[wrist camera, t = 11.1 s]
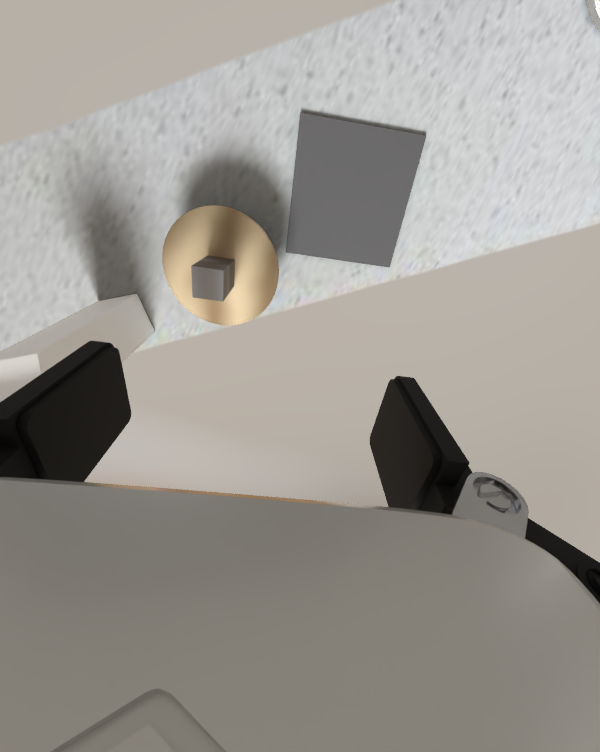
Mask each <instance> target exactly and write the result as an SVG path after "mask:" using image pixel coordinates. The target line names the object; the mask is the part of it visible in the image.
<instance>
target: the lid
mask: <svg viewBox="0 0 600 752" xmlns="http://www.w3.org/2000/svg"><path fill="white" fill-rule="evenodd" d="M162 256H163V268H164V273H165V277H166V280H167V282H168V284H169V287H170V288H171V290H172V292H173V294H174V295H175V296H176V298H177V299H178V300H179V302H180V303H181V304H182V305H183V306H184V307H185V308H186V309H187V310H189V311H190V312H191V313H193V314H194V315H196V316H197V317H199V318H201V319H203V320H205V321H208V322H211V323H215V324H220V325H236V324H241V323H244V322H247V321H250V320H252V319H254V318H255V317H257V316H258V315H259V314H261V313H262V312H263V311H264V310H265V309H266V307H267V306H268V305H269V303H270V302H271V300H272V298H273V296H274V294H275V291H276V288H277V283H278V276H279V268H278V260H277V255H276V252H275V249H274V247H273V245H272V243H271V241H270V239H269V237H268V236H267V234H266V233H265V231H264V230H263V229H262V228H261V227H260V226H259V225H258V224H257V223H256V222H255V221H254V220H253V219H251V218H250V217H249V216H247V215H246V214H244V213H242V212H240V211H238V210H236V209H233V208H230V207H225V206H217V205H212V206H203V207H198V208H195V209H193V210H190V211H188V212H187V213H185V214H183V215H182V216H181V217H180V218H179V219H178V220H177V221H176V222H175V223H174V224H173V225H172V227H171V228H170V230H169V232H168V234H167V236H166V239H165V242H164V246H163V255H162Z"/></svg>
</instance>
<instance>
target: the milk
mask: <svg viewBox="0 0 600 752" xmlns="http://www.w3.org/2000/svg"><path fill="white" fill-rule="evenodd" d="M154 332H155V331H154V329H153V327H152V324H151V322H150V320H149V318H148V316H147V314H146V312H145V309H144V307H143V305H142V303H141V301H140V299H139V297H138V295H137V294H132V295H127V296H122V297H117V298H112V299H107V300H102V301H98V302H96V303H94V304H92V305H90V306H88V307H86V308H84V309H82V310H80V311H78V312H76V313H75V314H73V315H71V316H69V317H67V318H65V319H63V320H61V321H59V322H57V323H55V324H53V325H51V326H49V327H47V328H46V329H44V330H42V331H40V332H38V333H36V334H34V335H32V336H30V337H28V338H26V339H24V340H22V341H20V342H18V343H17V344H15V345H13V346H11V347H9V348H7V349H5V350H3V351H1V352H0V402H1V401H3V400H4V399H6V398H7V397H9V396H10V395H12V394H13V393H14V392H16V391H17V390H19V389H20V388H22V387H23V386H25V385H26V384H28V383H29V382H30V381H32V380H33V379H35V378H36V377H38V376H39V375H41V374H42V373H44V372H45V371H46V370H48V369H49V368H51V367H52V366H54V365H55V364H57V363H58V362H60V361H61V360H62V359H64V358H65V357H67V356H68V355H70V354H71V353H73V352H74V351H76V350H77V349H78V348H80V347H81V346H83V345H84V344H86V343H87V342H89V341H100V342H109V343H111V344H113V346H114V347H115V348H117V349H118V350H119V353H120V358H121V363H123V362H124V361H125V360H126V359H127V358H128V357H129V356H130V355H131V354H132V353H133V352H134V351H135V350H136V349H137V348H139V347H140V346H141V345H142V344H143V343H144V342H145V341H146V340H147V339H148V338H149V337H150V336H151V335H152V334H153V333H154Z"/></svg>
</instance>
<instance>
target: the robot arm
mask: <svg viewBox="0 0 600 752" xmlns="http://www.w3.org/2000/svg"><path fill="white" fill-rule="evenodd" d="M586 3H587V7H588V11H589V14H590V17H591V19H592V21H593V23H594V24H595V26H596V28H597V29H598V30H599V31H600V0H586ZM130 417H131V409H130V404H129V399H128V394H127V389H126V384H125V379H124V373H123V368H122V363H121V358H120V353H119V350H118V349H117V348H115V347H114V346H113V344H111V343H109V342H100V341H89V342H87V343H86V344H84V345H83V346H81V347H80V348H78V349H77V350H76V351H74V352H73V353H71V354H70V355H68V356H67V357H65V358H64V359H62V360H61V361H60V362H58V363H57V364H55V365H54V366H52V367H51V368H49V369H48V370H46V371H45V372H44V373H42V374H41V375H39V376H38V377H36V378H35V379H33V380H32V381H30V382H29V383H28V384H26V385H25V386H23V387H22V388H20V389H19V390H17V391H16V392H14V393H13V394H12V395H10V396H9V397H7V398H6V399H4V400H3V401H1V402H0V752H600V563H599V562H598V561H596V560H594V559H593V558H591V557H590V556H588V555H586V554H585V553H583V552H581V551H580V550H578V549H577V548H575V547H574V546H572V545H570V544H569V543H567V542H566V541H564V540H562V539H561V538H559V537H557V536H556V535H554V534H553V533H551V532H550V531H548V530H546V529H545V528H543V527H542V526H540V525H538V524H537V523H535V522H534V521H532V520H530V519H529V518H528V506H527V504H526V502H525V500H524V498H523V497H522V496H521V494H520V493H519V492H518V491H517V490H516V489H515V488H514V487H512V486H511V485H510V484H509V483H507V482H505V481H504V480H502V479H501V478H498V477H496V476H494V475H491V474H488V473H483V472H475V473H472V471H471V470H470V468H469V466H468V465H469V461H468V460H467V458H466V457H465V455H464V454H463V453H462V451H461V449H460V448H459V446H458V445H457V443H456V441H455V440H454V438H453V437H452V435H451V434H450V432H449V431H448V429H447V428H446V426H445V425H444V423H443V422H442V420H441V419H440V417H439V416H438V414H437V413H436V411H435V409H434V408H433V406H432V405H431V403H430V402H429V400H428V399H427V397H426V396H425V394H424V393H423V391H422V390H421V388H420V386H419V385H418V383H417V382H416V380H415V379H414V378H410V377H402V376H397V377H396V378H395V379H394V380H393V379H391V380H390V381H389V383H388V386H387V389H386V392H385V395H384V398H383V401H382V404H381V406H380V409H379V413H378V415H377V418H376V421H375V424H374V427H373V430H372V433H371V436H370V446H371V449H372V453H373V456H374V460H375V463H376V466H377V469H378V473H379V476H380V479H381V483H382V486H383V490H384V493H385V496H386V500H387V503H388V506H389V507H382V506H372V505H371V506H370V505H361V504H350V503H338V502H327V501H314V500H303V499H291V498H279V497H268V496H254V495H243V494H230V493H218V492H206V491H193V490H180V489H167V488H154V487H141V486H128V485H114V484H100V483H87V482H84V480H85V479H86V478H87V477H88V475H89V474H90V473H91V471H92V470H93V469H94V467H95V466H96V465H97V463H98V462H99V461H100V459H101V458H102V457H103V455H104V454H105V453H106V451H107V450H108V449H109V447H110V446H111V445H112V443H113V442H114V441H115V440H116V438H117V437H118V435H119V434H120V433H121V432H122V430H123V429H124V428H125V426H126V425H127V424H128V422H129V420H130Z"/></svg>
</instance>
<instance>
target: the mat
mask: <svg viewBox="0 0 600 752" xmlns="http://www.w3.org/2000/svg"><path fill="white" fill-rule="evenodd" d="M425 138H426V136H425V135H420V134H414V133H409V132H404V131H398V130H393V129H387V128H382V127H376V126H371V125H365V124H360V123H355V122H349V121H344V120H338V119H333V118H327V117H322V116H316V115H311V114H306V113H300V122H299V132H298V141H297V151H296V160H295V170H294V179H293V189H292V198H291V208H290V217H289V227H288V236H287V246H286V252H287V253H294V254H301V255H308V256H315V257H322V258H329V259H336V260H342V261H349V262H356V263H363V264H370V265H377V266H384V267H390V264H391V260H392V257H393V253H394V249H395V246H396V242H397V239H398V235H399V231H400V228H401V224H402V221H403V217H404V214H405V210H406V206H407V203H408V199H409V196H410V192H411V189H412V185H413V181H414V178H415V174H416V171H417V167H418V164H419V160H420V156H421V153H422V149H423V146H424V142H425Z"/></svg>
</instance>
